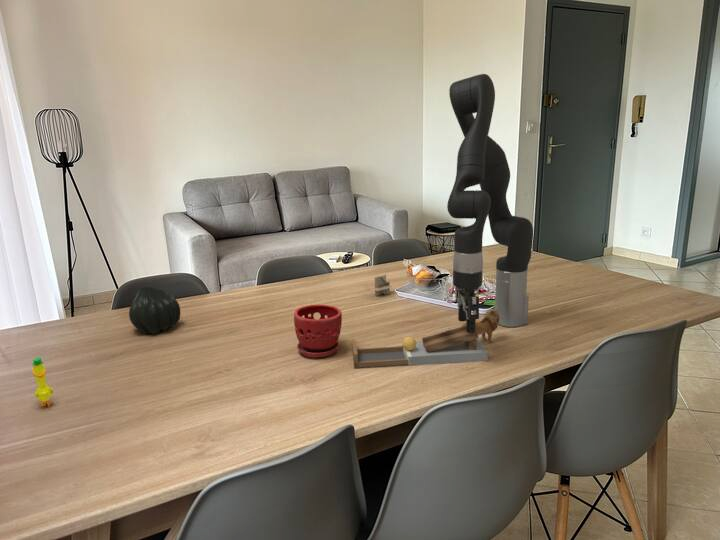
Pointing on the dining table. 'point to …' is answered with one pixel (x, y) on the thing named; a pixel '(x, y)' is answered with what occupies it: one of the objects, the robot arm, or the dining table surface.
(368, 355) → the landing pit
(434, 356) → the deck
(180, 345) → the dining table surface
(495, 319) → the lion figurine
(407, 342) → the ball
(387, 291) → the architectural model
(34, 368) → the toy figure
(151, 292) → the squash
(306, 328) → the plant pot
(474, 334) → the ramp
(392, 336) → the dining table surface
